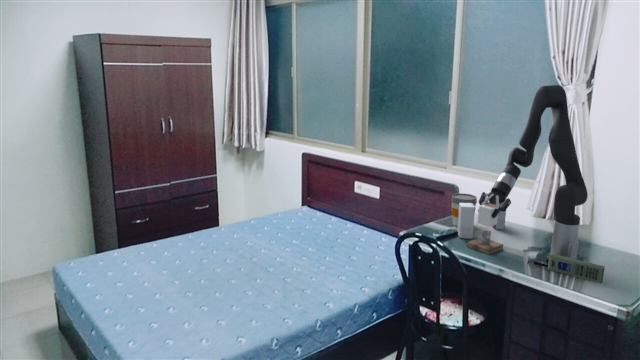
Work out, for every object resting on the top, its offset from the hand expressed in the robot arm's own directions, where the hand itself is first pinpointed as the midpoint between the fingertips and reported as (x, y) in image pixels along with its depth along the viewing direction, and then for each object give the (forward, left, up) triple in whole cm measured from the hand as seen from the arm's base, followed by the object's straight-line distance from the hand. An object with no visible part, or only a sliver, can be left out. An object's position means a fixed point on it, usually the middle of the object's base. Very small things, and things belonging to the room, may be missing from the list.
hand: (486, 215), depth 212 cm
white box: (0, -2, -4) cm, 5 cm away
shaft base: (0, -2, -16) cm, 16 cm away
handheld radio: (-36, -4, -16) cm, 39 cm away
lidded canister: (+26, -20, -16) cm, 37 cm away
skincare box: (+15, -7, -16) cm, 23 cm away
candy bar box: (+14, -32, -16) cm, 38 cm away
